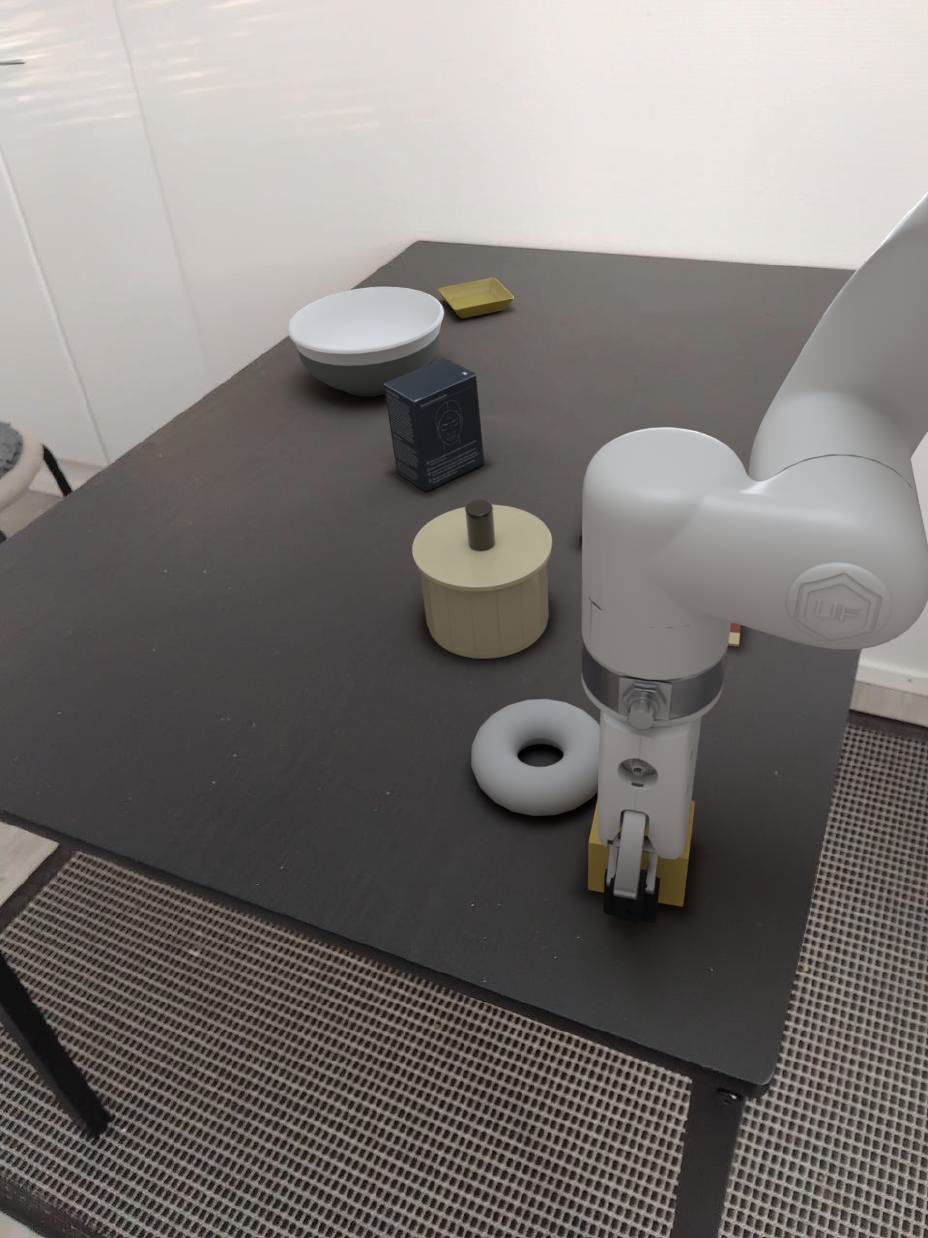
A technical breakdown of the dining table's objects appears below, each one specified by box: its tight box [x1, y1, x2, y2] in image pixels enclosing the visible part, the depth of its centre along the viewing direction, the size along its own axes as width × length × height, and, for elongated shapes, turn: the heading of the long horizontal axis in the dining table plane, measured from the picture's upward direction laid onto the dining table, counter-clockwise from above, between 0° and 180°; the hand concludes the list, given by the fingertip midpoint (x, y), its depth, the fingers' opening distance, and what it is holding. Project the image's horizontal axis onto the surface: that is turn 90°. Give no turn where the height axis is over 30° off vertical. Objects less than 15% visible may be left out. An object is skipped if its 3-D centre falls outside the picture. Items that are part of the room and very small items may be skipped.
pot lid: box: [411, 499, 553, 592], centre depth 79 cm, size 11×11×5 cm
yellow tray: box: [437, 277, 515, 319], centre depth 135 cm, size 9×9×2 cm
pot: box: [419, 562, 550, 660], centre depth 82 cm, size 10×10×7 cm
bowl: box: [287, 286, 445, 398], centre depth 119 cm, size 19×19×8 cm
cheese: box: [587, 798, 696, 908], centre depth 62 cm, size 6×4×5 cm
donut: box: [470, 698, 600, 817], centre depth 70 cm, size 10×4×10 cm
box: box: [384, 357, 485, 492], centre depth 100 cm, size 8×6×11 cm
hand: (639, 857), depth 63 cm, fingers open, 7 cm apart
